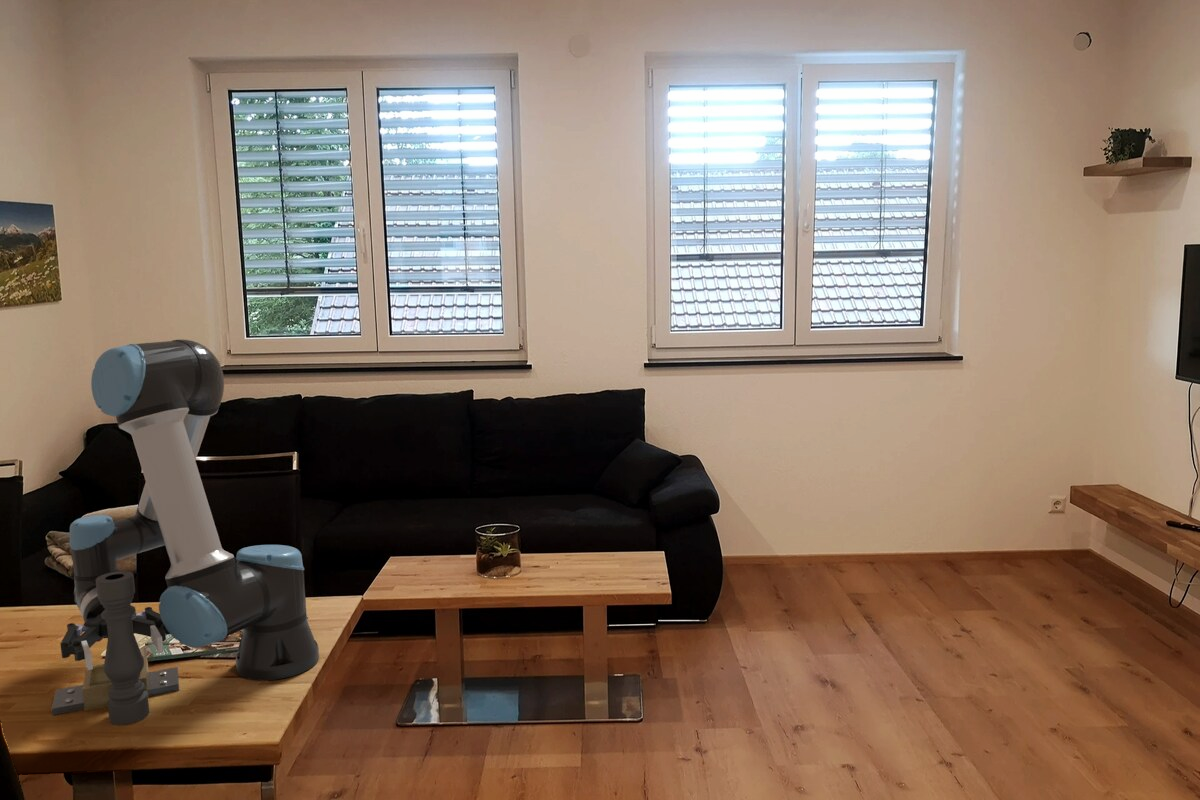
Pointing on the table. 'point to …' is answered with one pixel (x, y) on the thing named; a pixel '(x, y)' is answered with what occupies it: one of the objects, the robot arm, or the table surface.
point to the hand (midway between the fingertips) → (125, 653)
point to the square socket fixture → (99, 685)
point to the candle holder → (122, 649)
